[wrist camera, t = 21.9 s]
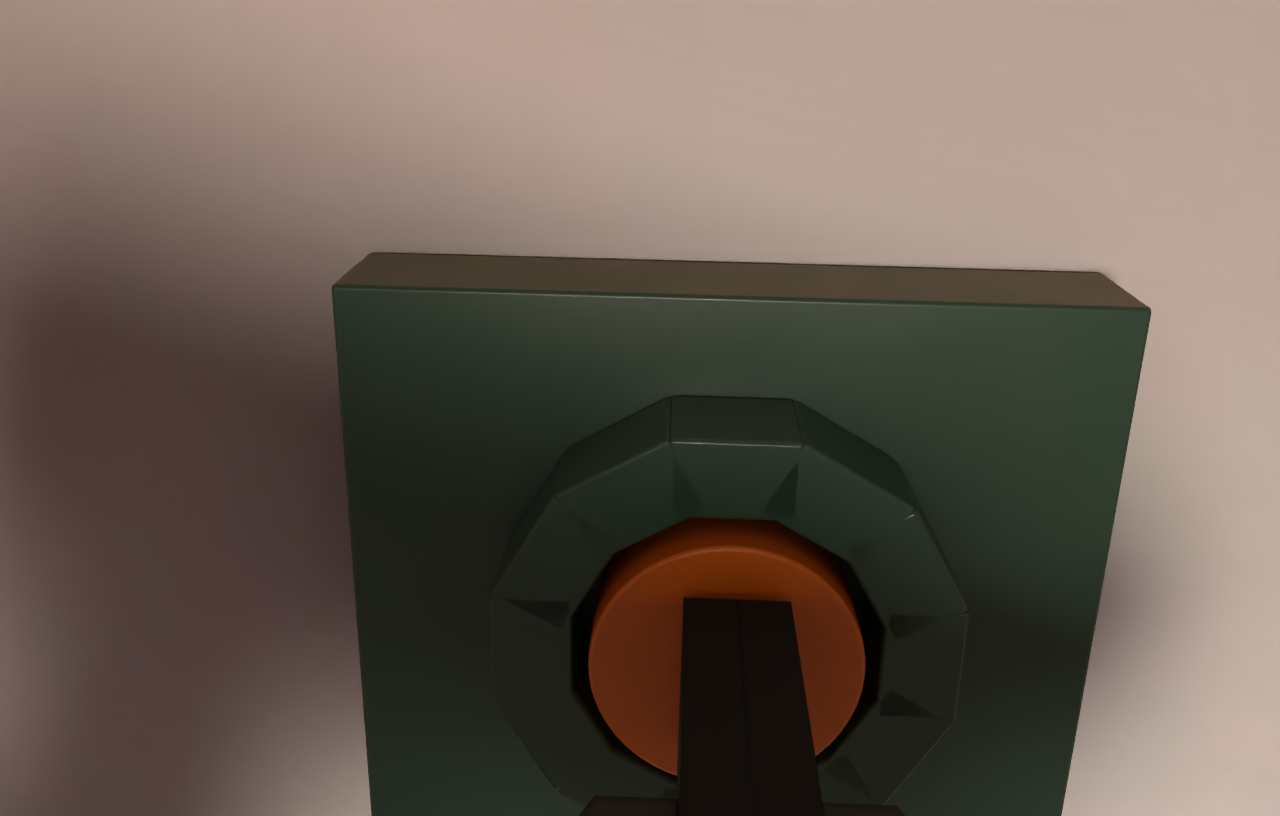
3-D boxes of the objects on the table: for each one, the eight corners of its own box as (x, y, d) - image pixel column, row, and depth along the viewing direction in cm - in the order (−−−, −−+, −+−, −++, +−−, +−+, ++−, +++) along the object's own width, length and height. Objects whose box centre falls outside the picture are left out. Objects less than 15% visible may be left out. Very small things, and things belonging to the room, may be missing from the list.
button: (595, 711, 19) (587, 780, 17) (597, 489, 18) (587, 541, 16) (839, 721, 19) (854, 791, 17) (861, 498, 18) (878, 552, 16)
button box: (401, 755, 23) (342, 909, 19) (369, 251, 19) (289, 318, 15) (1020, 781, 22) (1087, 944, 18) (1102, 272, 19) (1206, 345, 15)
